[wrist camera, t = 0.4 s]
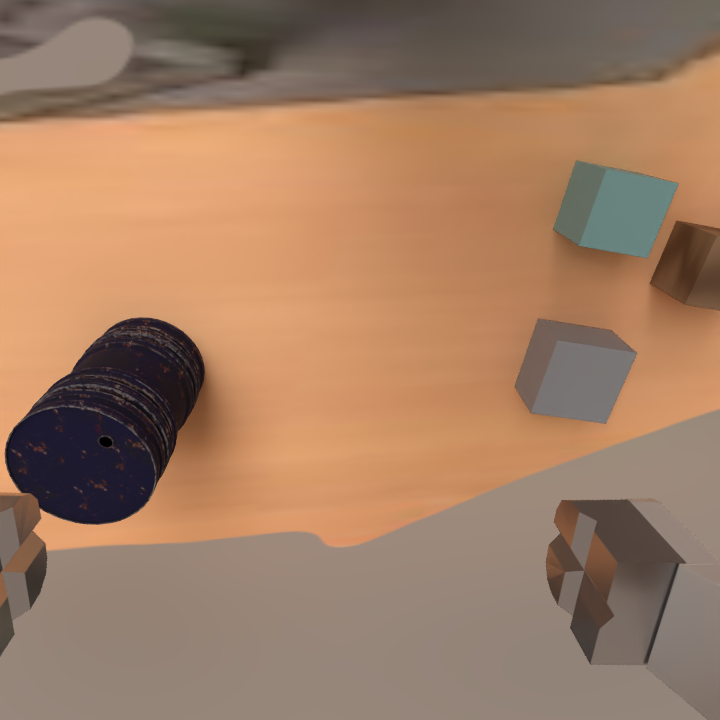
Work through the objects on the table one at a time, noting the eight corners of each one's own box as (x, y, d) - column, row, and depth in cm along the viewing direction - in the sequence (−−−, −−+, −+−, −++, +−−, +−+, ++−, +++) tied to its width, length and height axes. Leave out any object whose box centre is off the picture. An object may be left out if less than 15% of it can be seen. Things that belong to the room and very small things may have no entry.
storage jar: (163, 432, 53) (105, 548, 39) (72, 370, 50) (-26, 473, 36) (228, 363, 50) (188, 463, 37) (135, 293, 47) (54, 375, 33)
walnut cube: (676, 220, 46) (716, 235, 41) (735, 231, 46) (783, 248, 42) (649, 282, 48) (685, 304, 43) (706, 292, 49) (748, 315, 44)
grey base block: (537, 317, 49) (557, 340, 45) (610, 329, 50) (637, 353, 46) (514, 385, 52) (530, 413, 48) (583, 395, 53) (605, 423, 49)
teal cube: (575, 160, 43) (606, 169, 39) (640, 173, 44) (678, 183, 39) (552, 229, 46) (578, 245, 41) (614, 240, 46) (647, 258, 41)
